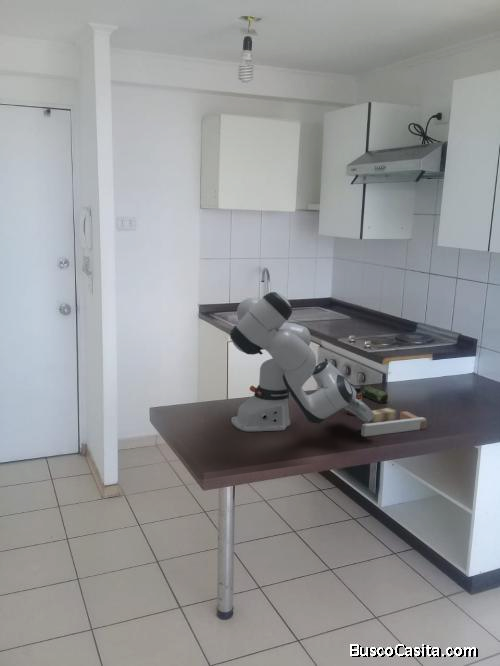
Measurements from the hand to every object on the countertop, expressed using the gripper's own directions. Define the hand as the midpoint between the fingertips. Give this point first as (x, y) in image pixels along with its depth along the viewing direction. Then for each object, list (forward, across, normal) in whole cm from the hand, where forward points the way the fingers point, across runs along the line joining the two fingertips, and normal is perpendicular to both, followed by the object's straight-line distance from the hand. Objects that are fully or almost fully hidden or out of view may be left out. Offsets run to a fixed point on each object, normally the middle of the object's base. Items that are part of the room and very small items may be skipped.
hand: (363, 418), depth 225 cm
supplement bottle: (+9, +18, -2) cm, 21 cm away
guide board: (+11, +1, -5) cm, 12 cm away
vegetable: (+24, +32, -16) cm, 43 cm away
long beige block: (+9, 0, -2) cm, 9 cm away
